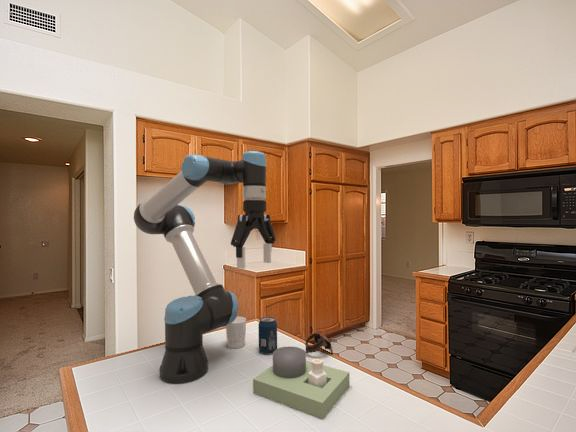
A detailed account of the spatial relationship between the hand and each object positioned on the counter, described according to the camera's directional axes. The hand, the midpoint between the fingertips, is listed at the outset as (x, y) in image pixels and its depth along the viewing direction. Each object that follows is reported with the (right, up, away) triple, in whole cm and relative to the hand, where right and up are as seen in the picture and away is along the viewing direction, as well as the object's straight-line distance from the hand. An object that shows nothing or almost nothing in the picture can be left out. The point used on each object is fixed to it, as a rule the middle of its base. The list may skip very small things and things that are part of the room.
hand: (254, 265), depth 102 cm
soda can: (+3, -35, +16) cm, 38 cm away
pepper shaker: (+19, -35, -13) cm, 42 cm away
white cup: (-10, -35, +22) cm, 42 cm away
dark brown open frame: (+22, -35, +15) cm, 44 cm away
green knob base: (+15, -35, -11) cm, 39 cm away
